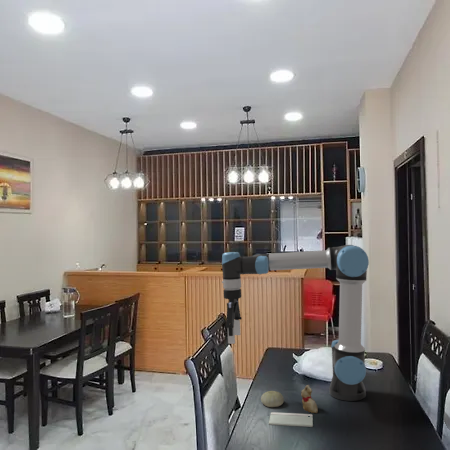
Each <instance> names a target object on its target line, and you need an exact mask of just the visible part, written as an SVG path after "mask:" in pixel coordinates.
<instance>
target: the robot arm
mask: <svg viewBox="0 0 450 450" xmlns="http://www.w3.org/2000/svg"><path fill="white" fill-rule="evenodd" d="M221 255H222V257H221V260H222V261H221V267H222V281H221V284H222V285H223V298H224V299H225V300H228V302H227V303H226V320H225V321H226V323H225V324H226V325H224V326H225V328H226V329H227V343H228V344H231V345H232V344H233V345H234V344H236V336H241V320H242V317H243V316H241V311H240V310H241V309H240V302H239V299H241V298H242V289H241V288H242V279H241V275H267V274H268V273H269V271H283V270H284V271H287V270H304V269H306V270H307V269H329V270H330V271H333V270H335V272H336V275H335V276H336V277H335V279H336V281H338V282H339V305H338V306H339V307H338V308H339V311H338V314H339V316H338V339H335V340H332V342H331V346H330V348H331V359H332V362H331V363H332V377H331V381H330V385H329V389H328V390H329V395H330V396H331V397H333V398H334V399H337V400H342V401H347V402H348V401H349V402H353V401H354V402H355V401H360V400H363V399H365V398H366V396H367V393H366V392H367V389H366V386H365V384H364V382H363V380H364V379H365V377H366V374H367V366H366V363H365V362H366V361H365V356H366V355H365V354H366V353H365V352H366V348H365V347H364V346H363V345H362V319H363V317H362V316H363V315H362V311H363V309H362V308H363V284H364V283H365V282H366V281H367V277H368V276H367V273H368V268H369V264H370V261H369V256H368V254H367V252H366V251H365V250H364V248H361V246H357V245H355V244H354V245H353V244H345V245H341V246H333V247H327V249H326V250H325V249H324V250H310V251H309V250H306V251H294V252H293V251H292V252H291V251H290V252H275V253H255V254H253V255H250V256H241V254H240V252H238V251H236V252H235V251H229V252H224V253H222V254H221Z"/></svg>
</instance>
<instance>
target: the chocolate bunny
mask: <svg viewBox="0 0 450 450" xmlns="http://www.w3.org/2000/svg"><path fill="white" fill-rule="evenodd" d="M312 389H313V388H312V387H310V384H307V385H306V386H305V387H304V389H302V390H301V391H300V393H301V395H300V396H301V397H302V399H301V402H302V403H301V404H302V408H303V410H304V411H305V412H307V411H308V413H310V412H311V413H310V414H318V411H319V410H318V409H319V408H318V405H317V403H316V401H315V399H313V397H312V393H313V390H312Z"/></svg>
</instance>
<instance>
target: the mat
mask: <svg viewBox="0 0 450 450" xmlns="http://www.w3.org/2000/svg"><path fill="white" fill-rule="evenodd" d="M313 421H314V419H313V417H308V416H288V415H271V414H270V416H269V421H268V425H271V426H272V425H273V426H288V427H289V426H290V427H305V428H306V427H307V428H309V427H310V428H314V427H313V426H314V424H313V423H314V422H313Z"/></svg>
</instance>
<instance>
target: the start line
mask: <svg viewBox="0 0 450 450" xmlns="http://www.w3.org/2000/svg"><path fill="white" fill-rule="evenodd" d="M270 415H288V416H310V417H313V413H310V414H309V413H295V412H275V411H273V412H272V411H271V412H270Z"/></svg>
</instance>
